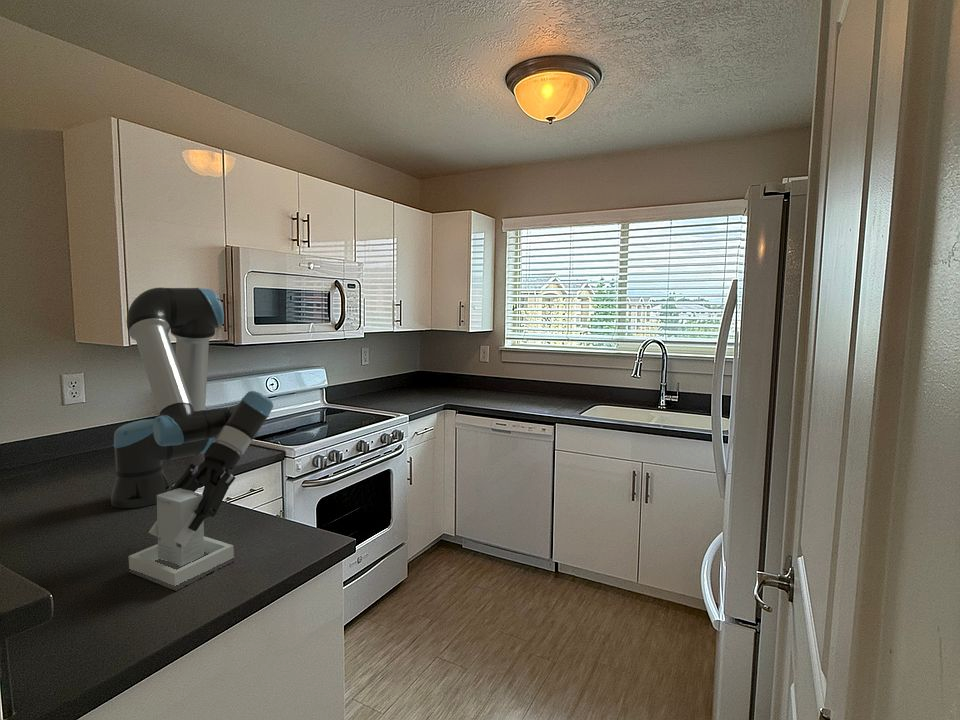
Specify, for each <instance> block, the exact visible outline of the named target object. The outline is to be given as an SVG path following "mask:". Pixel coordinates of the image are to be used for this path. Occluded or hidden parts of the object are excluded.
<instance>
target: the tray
mask: <svg viewBox="0 0 960 720" xmlns="http://www.w3.org/2000/svg"><path fill="white" fill-rule="evenodd" d="M204 552H206V553H209V554H208V555H206V556H204V557H202V558H200V559H198V560H196V561H194V562H191V563H189V564H187V565H185V566H183V567H181V568H179V569H177V570H176V569H173V568H171V567H168V566H165V565H163V564H160V563H157V562H155V560H158V559H159V558H158V543H156V544H154V545H152V546H149V547H147V548H145V549H142V550H139V551H137V552H136V553H132V554H130V555H128V570H129V569H131V570H134V571H137V572H140V573H143V574H145V575H148V576H151V577H153V578H156V579H159V580H161V581H163V582H166V583H168V584H171V585H174V586H176V585H179V584H180V583H182V582H184V581H187V580H188V579H191V578H193V577H195V576H197V575H200V574H201V573H203V572H206V571H208V570H210V569H212V568H213V567H216V566H217V565H219V564H222V563H224V562H226V561H228V560H230V559H232V558H234V559H235V550H234V545H233V544H231V543H230V544H229V543H227V542H224V541H221V540H217V539H214V538H211V537H209V536H205V535H204Z"/></svg>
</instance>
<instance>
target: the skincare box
mask: <svg viewBox="0 0 960 720" xmlns="http://www.w3.org/2000/svg"><path fill="white" fill-rule="evenodd" d="M202 499H203V495H202V493H198V492H196V491H195V492H193V491H190V490H184V489H180V488H178V489H175V490H172V491H169V492H166V493H162V494H159V495H157V503H156V521H157V532H158V537H157V544H158V558H159V559H161V560H165V561H169V562H172V563H175V564H177V565H179V566H183V565H185V564H187V563H189V562H192V561H194V560H196V559H198V558H200V557H202V556H204V536H205V533H204V532H205V529H204V527H205V526H204V520H203V522H202V523H201V525H200V526H199V528H198V529H197V530H196V531H195V532H194V533H193V535H192V537H191V538H190V540H189V541H188V543H187V544H186V546H182V545H180V544H178V543H177V542H175V541H174V540H175V538H176V537H177V535H178V534H179V532H180V531H181V529H182V528H183V526H184V525H185V523H186V522H187V520H188V519H189V517H190V516H191V514H192V513H195V512H194V510H197V509H198V506H199V503H200V502H201V500H202ZM195 514H197V513H195Z"/></svg>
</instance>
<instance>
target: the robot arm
mask: <svg viewBox="0 0 960 720" xmlns="http://www.w3.org/2000/svg"><path fill="white" fill-rule="evenodd" d="M130 304H131V305H130V306H129V308H128V310H127V315H126V321H125V323H126V327H127V328H126V329H127V332H128V334H129V337H130V338H131V339H133V340H134V341H135V343H136V344H137V345H136V346H137V348H138V351H139V355H140V358H141V361H142V365H143V368H144V370H145V374H146V376H147V379H148V380H147V381H148V383H149V386H150V390H151V392H152V396H153V399H154V402H155V405H156V408H157V411H158V414H159V415H158V416H156V417H154V418H149V419H140V420H137V421H132V422H128V423H125V424H123V425H120V426H119V427H118V428H117V429H116V430H115V431H114V434H113V445H112V446H113V448H114V458H115V459H114V460H115V461H114V462H115V472H116V473H115V474H116V479H115V482H114V485H113V489H112V491H111V492H112V493H111V495H110V501H111V503H110V504H111V506H112V507H114V508H117V509H137V508H144V507H147V506H152V505H157V495H159V494H162V493H166V492H169V491H172V490H175V489H178V488H180V489H184V490H190V491H193V492H195V493H196V491H197V490H199V489H201V488H203V487H204V488H203V490H202V493H201V494H202V495H203V499H202V500H201V502H200V503H199V506H198V509H197V510H194V512H195V513H197V514H195V513H192V514H191V516H190V517H189V519H188V520H187V522H186V523H185V525H184V526H183V528H182V529H181V531H180V532H179V534H178V535H177V537H176V538H175V540H174V541H175V542H177V543H178V544H180V545H182V546H186V544H187V543H188V541H189V540H190V538H191V537H192V535H193V533H194V532H195V531H196V530H197V529H198V528H199V526H200V525H201V523H202V522H203V521H204V520H205V519H207V518H208V517H211V518H213V517H215V516H216V515H217V512H218V511H219V509H220V507H221V505H222V502H223V501H224V498H225V496H226V494H227V492H228V490H229V487H230V486H231V485H232V484H233V482H234V481H235V480H236V477H235V475H233V474H231V473H230V472H229V471H233V470H234V469H235V468H236V466H237V464H238V463H239V462H240V460H241V456H242V455H244V453H246V451H247V449H248V447H249V446H250V444H251V443H252V441H253V439H255V437H256V435H257V434H258V432H259V430H260V429H261V428H262V426H263V425H264V423H265V422H266V420H267V419H268V418H269V416H270V414H271V412H272V410H273V408H274V402H273V401H272V399H270V398H269V397H268V396H267V395H265V394H263V393H262V392H260V391H259V392H258V391H255V390H249V391H248V392H247V393H245V395H244V396H243V397H242V398H241V401H240V402H239V403H236V404H235V405H230V406H224V407H218V408H210V409H206V404H207V403H206V401H207V384H208V383H207V382H208V381H207V380H208V366H209V365H208V364H209V345H210V340H211V339H212V338H213V337H215V335H216V329H219V328H221V327H222V326H223V324H224V323H225V322H224V320H225V313H224V307H223V304H222V301H221V298H220V297H219V295H218V293H216V291H215V290H214V289H213V290H212V289H209V288H199V287H153V288H150V289H147V290H145V291H143V292H142V293H140V294H139V295H138V296H137V297H135V299H134V300H133V301H132V302H131V303H130ZM169 333H170V334H171V335H172V336H173V337H174V338H175V340H176V341H175V351H174V347H173V345H172V342H171V341H172V340H171V339H170V336H169ZM200 454H203V457H204V460H203V462H201V463H200V464H199V465H195V464H194V463H191V464H189V465H188V466H187V468H186V471H185V472H184V473H183V474H182V476H180V478H179V479H178V480H177V481H176V483H175V484H173V486H172V487H171V485H170V484H169V481H168V479H167V477H166V474H165V472H164V470H163V469H164V467H163V462H165V461H171V460H175V459H181V458H185V457H190V456H199V455H200ZM148 533H149V534H150V535H153V537H157V538H158V532H157V520H156V521H154V524H153V525H152V526H151V528H150V529H149V530H148Z"/></svg>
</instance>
